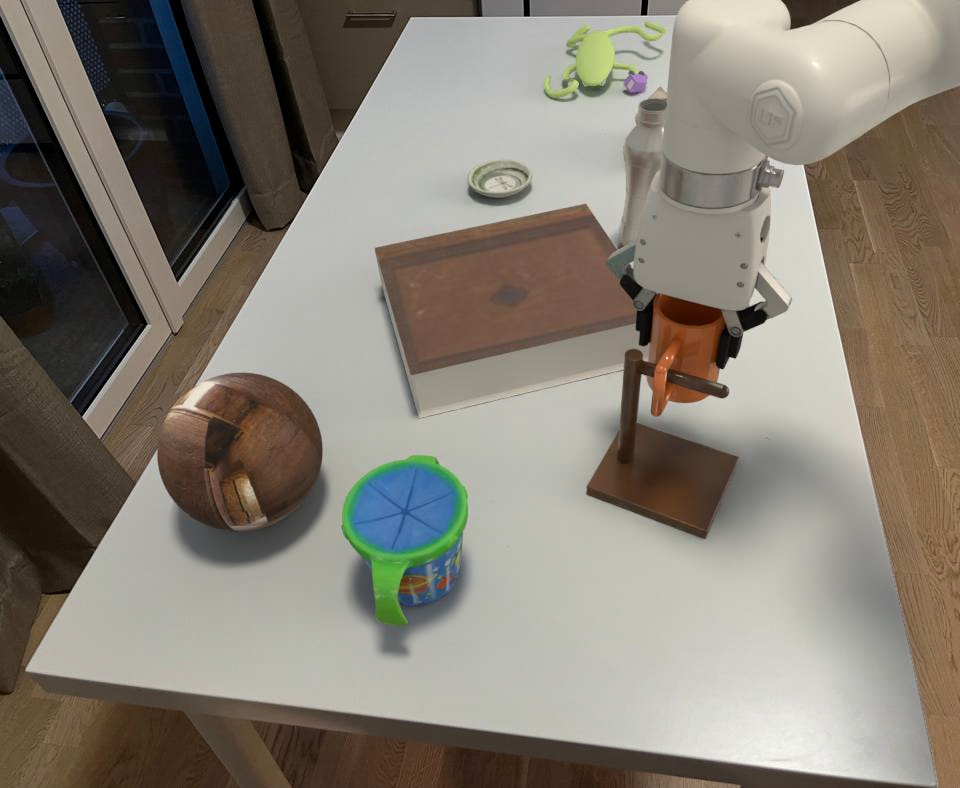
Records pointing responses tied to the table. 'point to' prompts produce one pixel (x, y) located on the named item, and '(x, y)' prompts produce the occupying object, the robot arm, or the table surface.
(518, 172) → the saucer
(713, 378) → the mug
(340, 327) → the table surface
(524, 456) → the table surface
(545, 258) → the book
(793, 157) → the robot arm
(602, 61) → the figurine
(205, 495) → the wooden sphere
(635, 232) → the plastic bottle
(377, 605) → the snack cup
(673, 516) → the mug stand
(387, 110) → the table surface
